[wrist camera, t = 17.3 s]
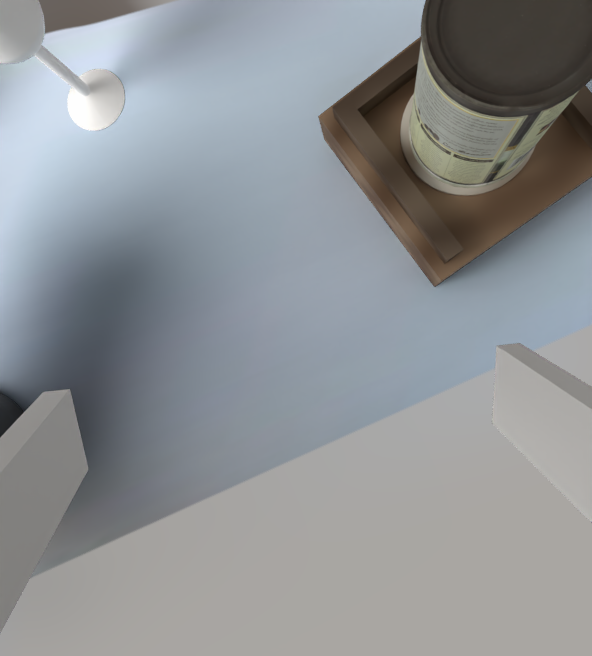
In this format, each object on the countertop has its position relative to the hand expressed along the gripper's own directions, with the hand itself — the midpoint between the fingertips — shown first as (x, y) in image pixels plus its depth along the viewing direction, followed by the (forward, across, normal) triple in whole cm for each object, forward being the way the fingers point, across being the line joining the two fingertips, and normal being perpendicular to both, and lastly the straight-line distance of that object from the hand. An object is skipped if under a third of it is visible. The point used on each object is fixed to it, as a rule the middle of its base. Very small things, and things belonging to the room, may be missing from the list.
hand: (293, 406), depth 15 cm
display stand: (+33, +19, +8) cm, 39 cm away
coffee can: (+28, +18, +9) cm, 35 cm away
